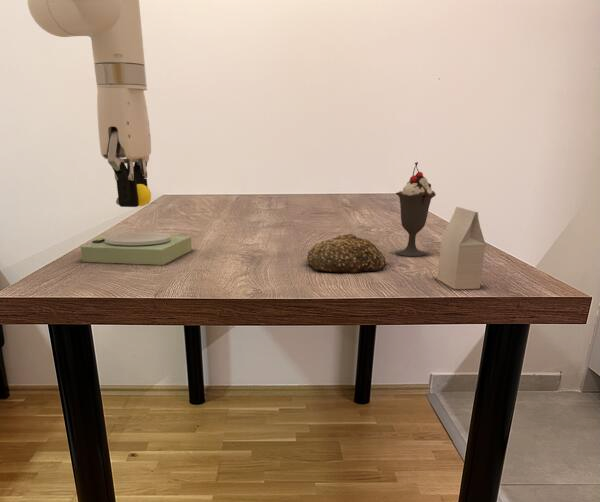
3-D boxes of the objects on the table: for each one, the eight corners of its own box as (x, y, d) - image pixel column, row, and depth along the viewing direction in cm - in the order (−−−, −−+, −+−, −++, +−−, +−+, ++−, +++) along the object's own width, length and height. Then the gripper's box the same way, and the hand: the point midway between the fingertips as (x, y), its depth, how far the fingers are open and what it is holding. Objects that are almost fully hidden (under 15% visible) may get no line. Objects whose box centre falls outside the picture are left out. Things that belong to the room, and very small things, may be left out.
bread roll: (305, 273, 97) (306, 239, 94) (307, 258, 108) (307, 227, 106) (390, 274, 96) (392, 240, 94) (383, 259, 107) (385, 228, 105)
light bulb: (153, 206, 105) (144, 185, 102) (120, 216, 105) (110, 196, 103) (155, 197, 107) (146, 177, 105) (122, 208, 108) (113, 188, 105)
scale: (82, 261, 104) (79, 241, 103) (118, 247, 117) (116, 229, 115) (163, 265, 102) (161, 244, 101) (191, 250, 114) (190, 231, 113)
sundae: (401, 258, 108) (408, 162, 102) (386, 251, 114) (391, 160, 108) (436, 256, 110) (445, 162, 103) (419, 250, 116) (427, 160, 109)
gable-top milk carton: (454, 289, 87) (462, 212, 83) (437, 279, 93) (444, 207, 89) (479, 288, 88) (489, 212, 83) (460, 278, 94) (469, 206, 89)
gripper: (121, 82, 106) (133, 199, 114) (72, 75, 91) (90, 210, 99) (164, 82, 105) (173, 200, 113) (121, 74, 90) (135, 211, 98)
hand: (134, 204), depth 106 cm, fingers closed on light bulb, 3 cm apart
